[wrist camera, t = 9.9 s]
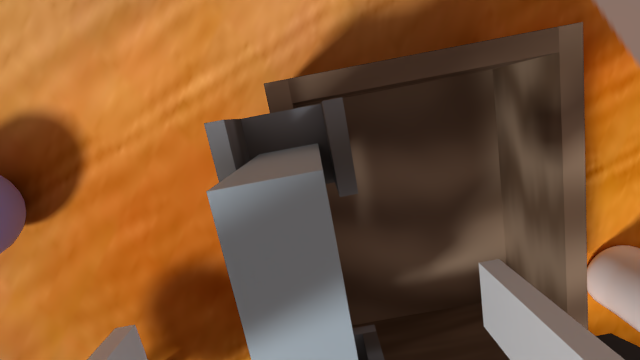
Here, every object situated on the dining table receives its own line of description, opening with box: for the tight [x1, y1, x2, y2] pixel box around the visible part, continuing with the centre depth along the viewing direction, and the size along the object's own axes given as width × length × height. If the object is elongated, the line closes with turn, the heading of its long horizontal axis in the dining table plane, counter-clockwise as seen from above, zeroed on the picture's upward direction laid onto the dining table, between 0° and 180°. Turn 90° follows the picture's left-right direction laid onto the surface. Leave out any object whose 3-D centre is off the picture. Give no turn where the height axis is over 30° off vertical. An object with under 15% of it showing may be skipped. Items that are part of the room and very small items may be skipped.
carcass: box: [204, 22, 588, 360], centre depth 19 cm, size 20×18×11 cm
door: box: [207, 143, 358, 360], centre depth 13 cm, size 14×4×8 cm, turn 11°
